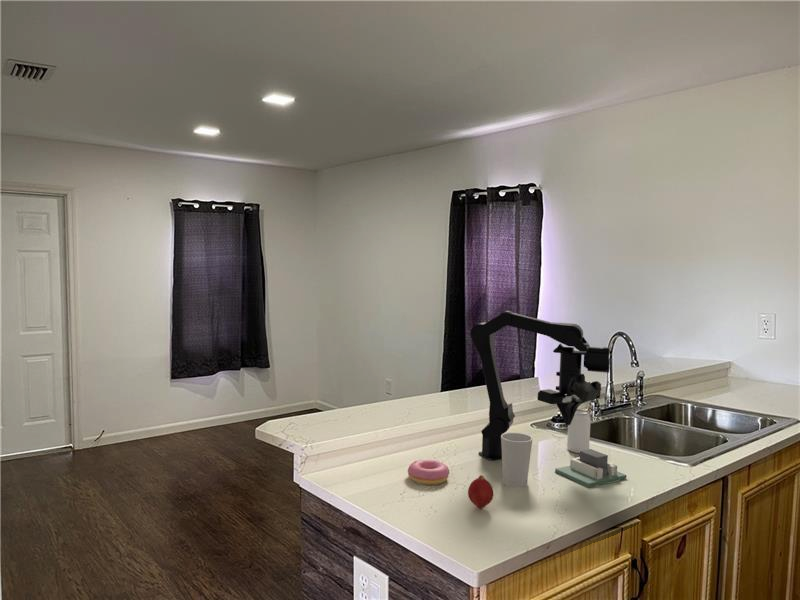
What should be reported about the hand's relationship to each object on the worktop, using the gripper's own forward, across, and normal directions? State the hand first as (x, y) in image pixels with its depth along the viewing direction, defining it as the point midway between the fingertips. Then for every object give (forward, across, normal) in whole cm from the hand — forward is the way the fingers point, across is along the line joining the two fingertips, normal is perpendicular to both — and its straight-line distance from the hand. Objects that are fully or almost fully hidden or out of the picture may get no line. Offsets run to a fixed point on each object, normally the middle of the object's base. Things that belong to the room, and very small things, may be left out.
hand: (567, 424), depth 165 cm
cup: (+12, -21, -3) cm, 24 cm away
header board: (+12, +1, -8) cm, 14 cm away
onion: (+12, -39, -12) cm, 43 cm away
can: (+12, +14, +9) cm, 21 cm away
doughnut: (+12, -40, +9) cm, 43 cm away
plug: (+11, +2, -8) cm, 14 cm away
